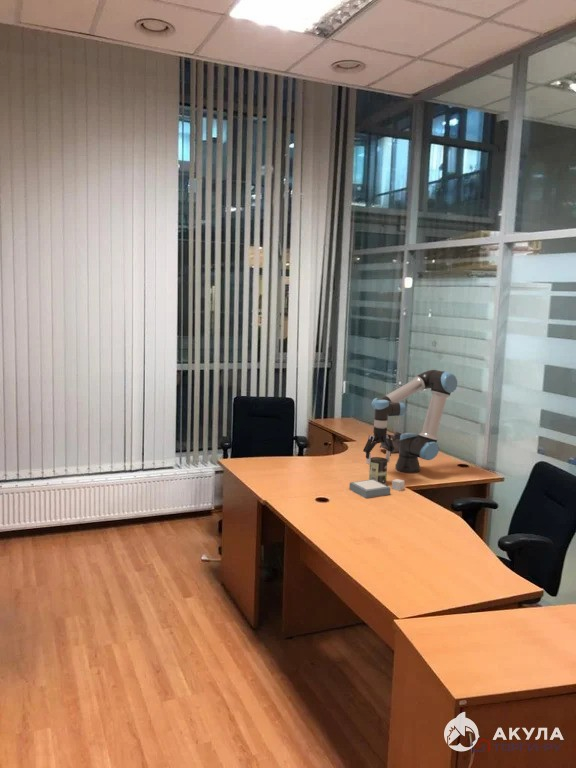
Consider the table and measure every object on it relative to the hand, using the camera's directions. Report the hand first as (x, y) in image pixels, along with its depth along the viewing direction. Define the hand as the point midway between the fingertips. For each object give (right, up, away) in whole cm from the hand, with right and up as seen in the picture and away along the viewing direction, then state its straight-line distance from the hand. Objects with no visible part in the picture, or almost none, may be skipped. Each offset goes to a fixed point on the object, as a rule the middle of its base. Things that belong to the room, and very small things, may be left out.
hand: (377, 463), depth 360 cm
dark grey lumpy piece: (+21, -2, +72) cm, 75 cm away
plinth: (-7, -14, -15) cm, 22 cm away
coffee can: (0, -12, +2) cm, 12 cm away
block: (+10, -14, -8) cm, 19 cm away
